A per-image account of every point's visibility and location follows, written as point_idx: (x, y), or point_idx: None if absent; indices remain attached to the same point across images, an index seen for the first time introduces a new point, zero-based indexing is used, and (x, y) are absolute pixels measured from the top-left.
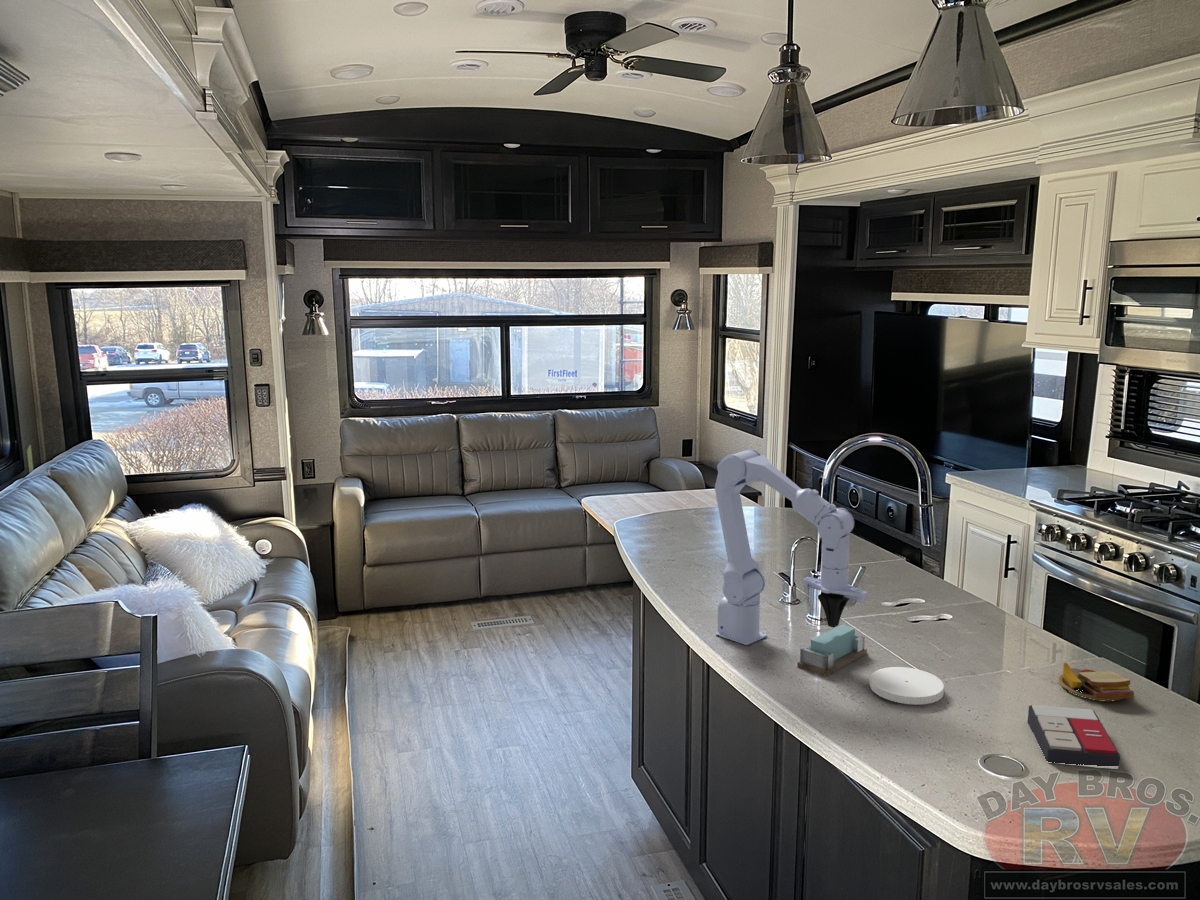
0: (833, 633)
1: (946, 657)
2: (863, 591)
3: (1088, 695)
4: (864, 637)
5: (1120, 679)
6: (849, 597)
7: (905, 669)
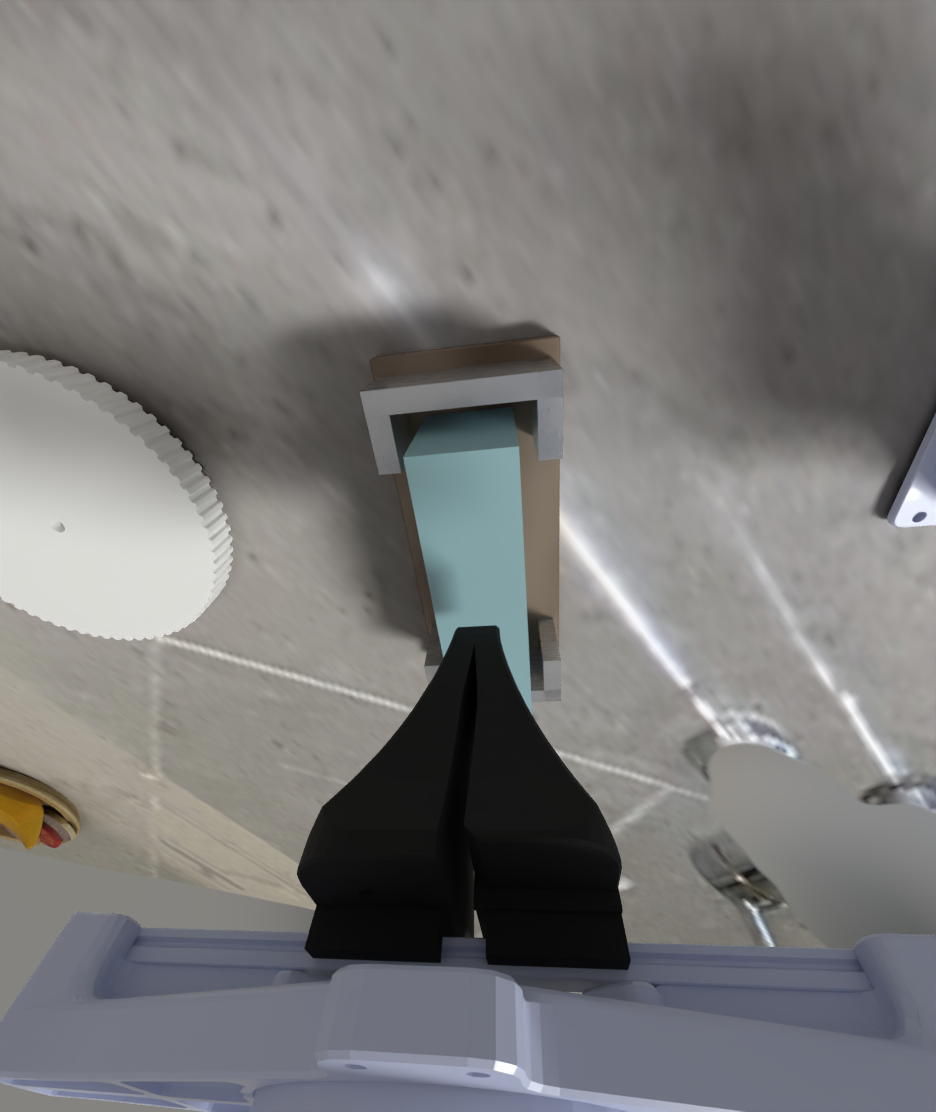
0: (484, 617)
1: (284, 758)
2: (82, 1094)
3: None
4: None
5: None
6: (249, 943)
7: (171, 609)
